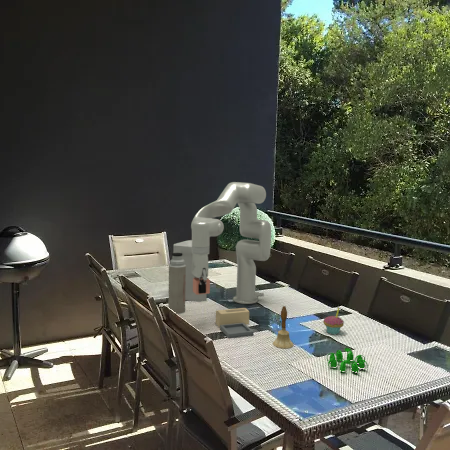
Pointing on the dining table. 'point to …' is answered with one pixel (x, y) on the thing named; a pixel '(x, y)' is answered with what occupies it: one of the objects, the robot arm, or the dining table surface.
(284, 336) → the hand bell
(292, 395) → the dining table surface
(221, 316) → the tan slotted block
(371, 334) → the dining table surface
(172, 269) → the thermos bottle
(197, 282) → the stub
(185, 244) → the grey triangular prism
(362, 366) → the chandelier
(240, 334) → the tray
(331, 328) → the cupcake
